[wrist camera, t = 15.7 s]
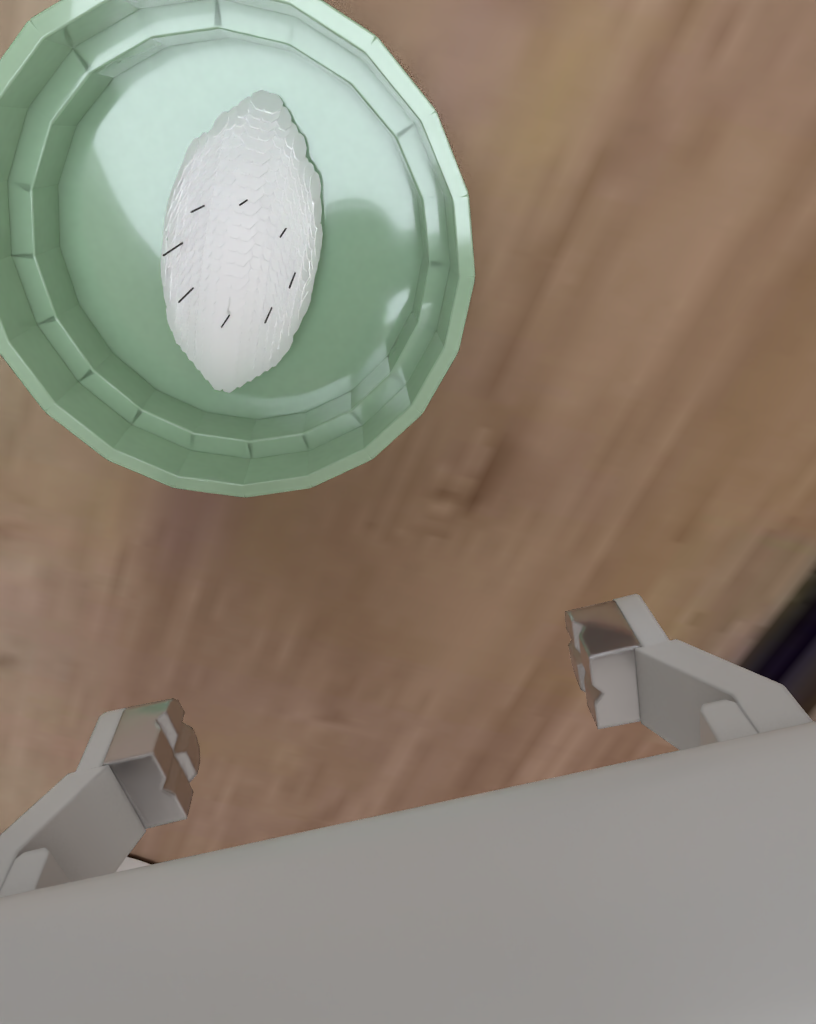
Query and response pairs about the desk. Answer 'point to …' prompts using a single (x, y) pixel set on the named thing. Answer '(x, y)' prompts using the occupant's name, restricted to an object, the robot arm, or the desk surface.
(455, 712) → the desk surface
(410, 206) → the bowl
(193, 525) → the desk surface
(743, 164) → the desk surface
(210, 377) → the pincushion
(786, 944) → the robot arm
